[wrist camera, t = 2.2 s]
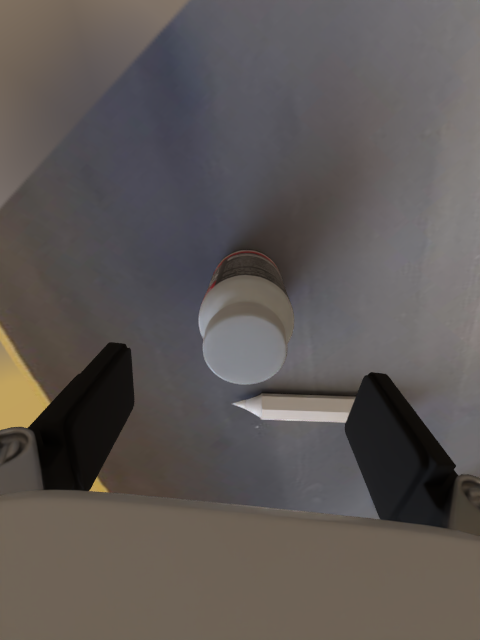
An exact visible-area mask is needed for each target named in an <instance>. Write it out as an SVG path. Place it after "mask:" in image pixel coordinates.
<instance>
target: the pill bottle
mask: <svg viewBox="0 0 480 640" xmlns="http://www.w3.org/2000/svg"><path fill="white" fill-rule="evenodd" d="M293 328H294V314H293V309H292V306H291V303H290V300H289V298H288V295H287V292H286V290H285V286H284V283H283V280H282V277H281V275H280V272H279V270H278V268H277V266H276V265H275V263H274V262H273V261H272V260H271V259H270V258H269V257H267V256H266V255H264V254H262V253H260V252H257V251H253V250H240V251H237V252H234V253H231V254H230V255H228V256H226V257H225V258H224V259H223V260H222V261H221V262H220V263H219V265H218V266H217V268H216V270H215V272H214V274H213V277H212V279H211V282H210V284H209V287H208V289H207V292H206V294H205V297H204V299H203V302H202V304H201V308H200V312H199V329H200V332H201V335H202V338H203V339H204V340H203V355H204V359H205V361H206V363H207V365H208V366H209V368H210V369H211V370H212V371H213V372H214V373H215V374H216V375H217V376H219V377H220V378H222V379H224V380H226V381H228V382H231V383H236V384H246V385H248V384H255V383H259V382H262V381H265V380H267V379H269V378H270V377H272V376H273V375H275V374H276V373H277V372H278V371H279V370H280V369H281V367H282V366H283V364H284V362H285V359H286V356H287V343H288V342H289V340H290V338H291V336H292V333H293Z"/></svg>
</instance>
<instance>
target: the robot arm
mask: <svg viewBox="0 0 480 640" xmlns="http://www.w3.org/2000/svg"><path fill="white" fill-rule="evenodd" d="M133 406H134V388H133V373H132V358H131V349H130V348H127V346H126V344H121V343H113V342H110V343H108V344H107V345H106V346H105V347H104V348H103V350H102V351H101V352H100V353H99V354H98V355H97V356H96V357H95V358H94V359H93V360H92V362H91V363H90V364H89V365H88V366H87V367H86V368H85V369H84V370H83V371H82V372H81V374H78V375H77V376H76V377H75V378H74V379H73V380H72V381H71V382H70V383H69V384H68V385H67V386H66V387H65V388H64V390H63V391H62V392H61V393H60V394H59V395H58V396H57V397H56V398H55V399H54V400H53V401H52V402H51V404H50V405H49V406H48V407H47V408H46V409H45V410H44V411H43V412H42V413H41V414H40V415H39V417H38V418H37V419H36V420H35V421H34V422H33V423H32V424H31V425H30V426H29V427H28V428H24V427H11V428H7V429H3V430H0V640H480V478H478V477H476V476H472V475H469V474H461V475H459V476H458V475H457V473H456V472H455V471H454V468H455V467H456V465H455V464H454V463H453V461H452V460H451V459H450V457H449V456H448V455H447V453H446V452H445V451H444V449H443V448H442V447H441V445H440V444H439V443H438V441H437V440H436V439H435V437H434V436H433V435H432V433H431V432H430V431H429V429H428V428H427V427H426V425H425V424H424V423H423V421H422V420H421V419H420V417H419V416H418V415H417V414H416V412H415V411H414V410H413V408H412V407H411V406H410V404H409V403H408V402H407V400H406V399H405V398H404V396H403V395H402V394H401V392H400V391H399V390H398V388H397V387H396V386H395V384H394V383H393V382H392V380H391V379H390V378H389V376H388V375H387V374H381V373H373V372H371V373H369V374H368V376H367V375H366V376H364V378H363V380H362V383H361V385H360V388H359V390H358V393H357V395H356V398H355V400H354V403H353V405H352V408H351V411H350V413H349V416H348V418H347V421H346V423H345V433H346V435H347V438H348V440H349V443H350V445H351V448H352V450H353V453H354V455H355V458H356V460H357V463H358V465H359V468H360V470H361V473H362V475H363V478H364V480H365V483H366V485H367V488H368V490H369V493H370V495H371V498H372V500H373V503H374V505H375V508H376V510H377V513H378V515H379V517H380V519H381V520H380V519H371V518H361V517H352V516H342V515H333V514H324V513H314V512H305V511H295V510H285V509H275V508H266V507H256V506H246V505H236V504H226V503H216V502H206V501H195V500H184V499H174V498H163V497H153V496H142V495H132V494H119V493H106V492H93V491H89V490H90V489H91V487H92V485H93V483H94V481H95V479H96V477H97V476H98V474H99V472H100V470H101V468H102V466H103V464H104V462H105V460H106V459H107V457H108V455H109V453H110V451H111V449H112V447H113V445H114V443H115V442H116V440H117V438H118V436H119V434H120V432H121V430H122V428H123V426H124V425H125V423H126V421H127V419H128V417H129V415H130V413H131V411H132V409H133Z"/></svg>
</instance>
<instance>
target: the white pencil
mask: <svg viewBox="0 0 480 640" xmlns="http://www.w3.org/2000/svg"><path fill="white" fill-rule="evenodd" d="M355 398H356V397H353V396H324V395H295V394H266V393H261V395H258V396H256V397H253V398H250V399H247V400H242V401H239V402H235V403H232V404H234V405H236V406H239V407H242V408H244V409H246V410H248V411H250V412H252V413H253V414H255V415H257V416H259V417H261V419H263V420H291V421H319V422H346V421H347V418H348V416H349V413H350V411H351V408H352V405H353V403H354V400H355Z"/></svg>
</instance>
